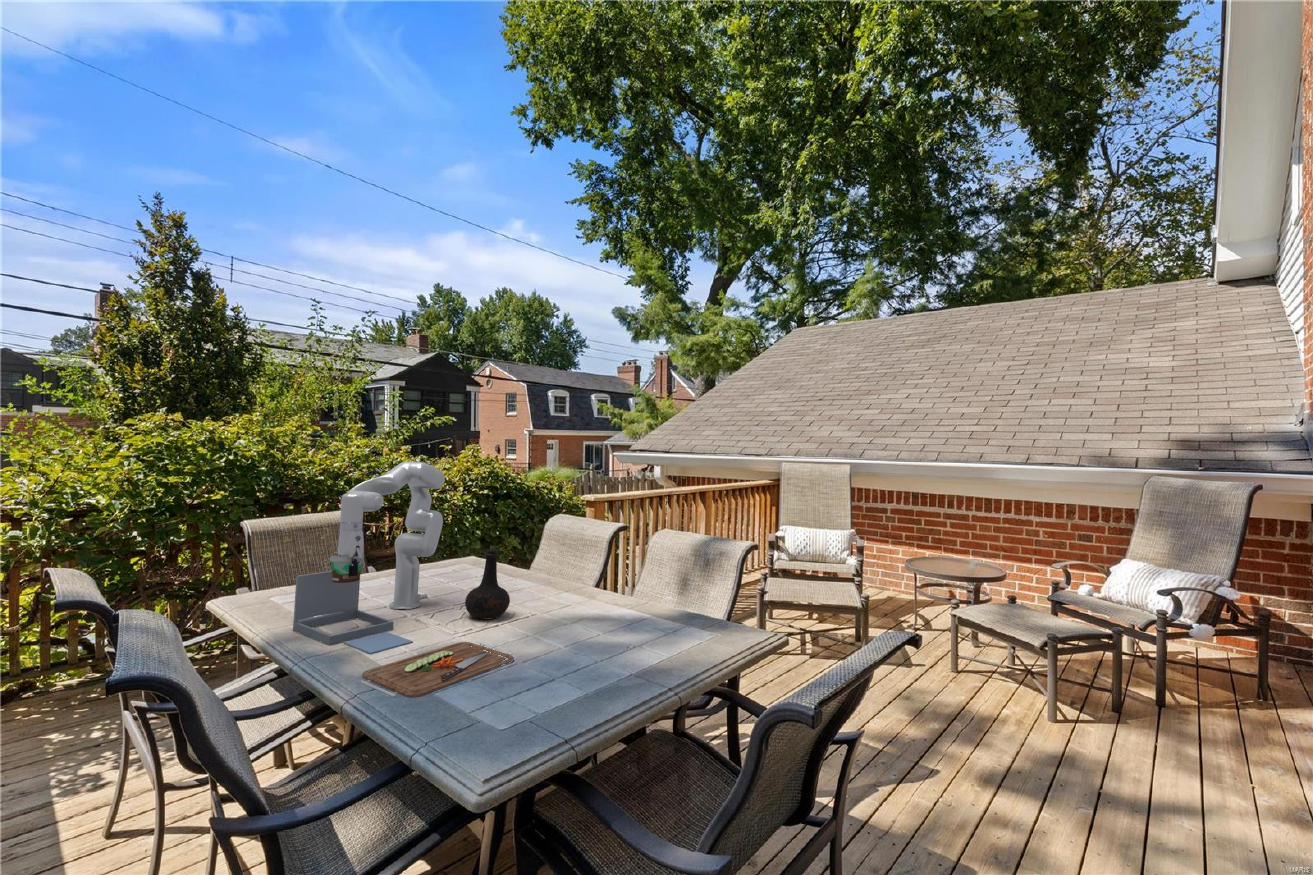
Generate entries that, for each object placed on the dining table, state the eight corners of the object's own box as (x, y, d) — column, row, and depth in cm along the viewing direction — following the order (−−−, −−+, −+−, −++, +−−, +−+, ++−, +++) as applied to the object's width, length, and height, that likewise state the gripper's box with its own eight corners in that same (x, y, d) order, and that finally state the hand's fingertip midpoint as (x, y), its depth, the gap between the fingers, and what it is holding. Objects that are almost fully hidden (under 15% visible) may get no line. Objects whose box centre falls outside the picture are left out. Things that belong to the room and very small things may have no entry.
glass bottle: (455, 619, 238) (459, 550, 239) (480, 608, 256) (484, 544, 256) (493, 625, 233) (497, 555, 234) (516, 614, 250) (520, 548, 251)
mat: (386, 633, 217) (386, 631, 217) (412, 642, 208) (412, 641, 208) (343, 643, 204) (343, 642, 204) (370, 654, 195) (370, 652, 195)
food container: (336, 585, 212) (337, 557, 212) (328, 582, 215) (329, 555, 215) (369, 579, 222) (371, 553, 222) (361, 577, 225) (362, 551, 225)
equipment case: (356, 616, 235) (359, 566, 236) (393, 629, 222) (396, 576, 222) (292, 630, 215) (296, 575, 215) (329, 645, 201) (333, 587, 202)
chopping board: (470, 642, 213) (470, 634, 213) (523, 659, 199) (523, 650, 199) (350, 679, 175) (350, 669, 175) (404, 704, 161) (405, 692, 161)
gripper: (373, 528, 218) (371, 576, 217) (348, 522, 227) (345, 569, 226) (354, 530, 211) (351, 580, 211) (329, 524, 220) (326, 572, 220)
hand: (348, 574), depth 219 cm, fingers closed on food container, 5 cm apart
